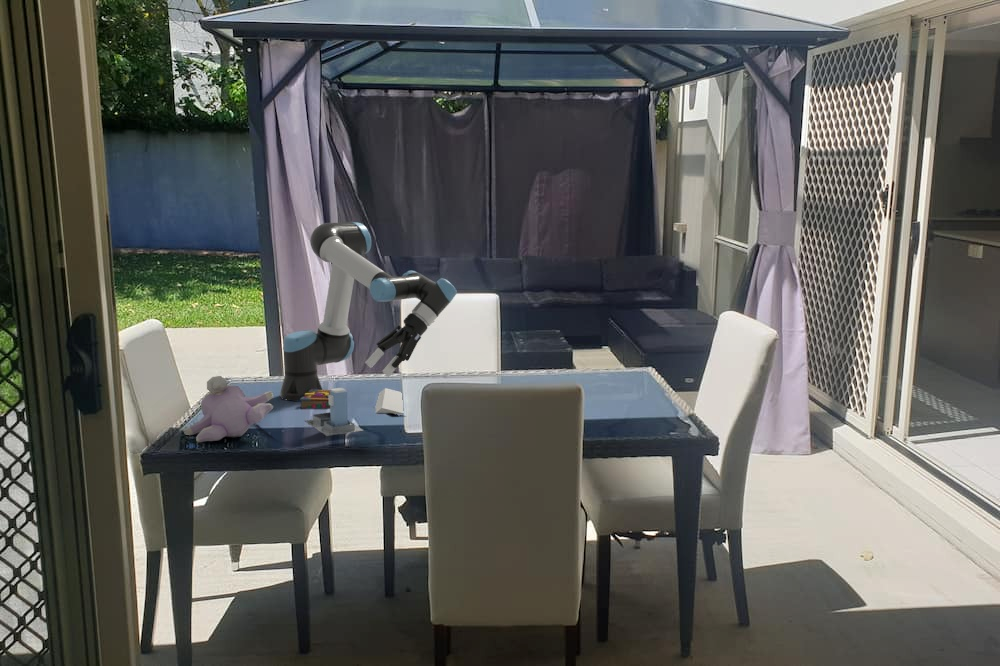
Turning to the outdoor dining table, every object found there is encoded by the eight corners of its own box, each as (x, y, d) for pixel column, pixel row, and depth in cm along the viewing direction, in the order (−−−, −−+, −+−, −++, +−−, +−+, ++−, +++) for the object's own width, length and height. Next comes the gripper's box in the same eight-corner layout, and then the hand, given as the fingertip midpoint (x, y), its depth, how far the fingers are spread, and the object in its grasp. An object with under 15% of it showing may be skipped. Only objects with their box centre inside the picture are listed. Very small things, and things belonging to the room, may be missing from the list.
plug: (328, 428, 271) (327, 389, 269) (342, 426, 273) (341, 387, 271) (333, 431, 267) (332, 391, 265) (347, 429, 270) (346, 390, 268)
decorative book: (342, 401, 312) (341, 388, 311) (332, 413, 296) (331, 398, 295) (310, 401, 312) (310, 387, 311) (299, 412, 296) (298, 398, 295)
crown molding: (407, 417, 291) (407, 407, 291) (370, 418, 290) (370, 408, 290) (407, 397, 320) (407, 387, 319) (374, 398, 319) (374, 388, 318)
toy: (186, 436, 282) (199, 467, 255) (164, 389, 276) (175, 416, 249) (270, 398, 292) (291, 424, 265) (250, 352, 286) (270, 374, 259)
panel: (304, 424, 280) (304, 414, 280) (339, 419, 286) (339, 409, 286) (326, 439, 263) (326, 429, 263) (363, 433, 270) (363, 423, 269)
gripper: (444, 333, 272) (400, 385, 267) (410, 321, 293) (368, 369, 288) (429, 318, 268) (384, 370, 263) (395, 306, 289) (353, 354, 284)
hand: (376, 369), depth 276 cm, fingers open, 13 cm apart
